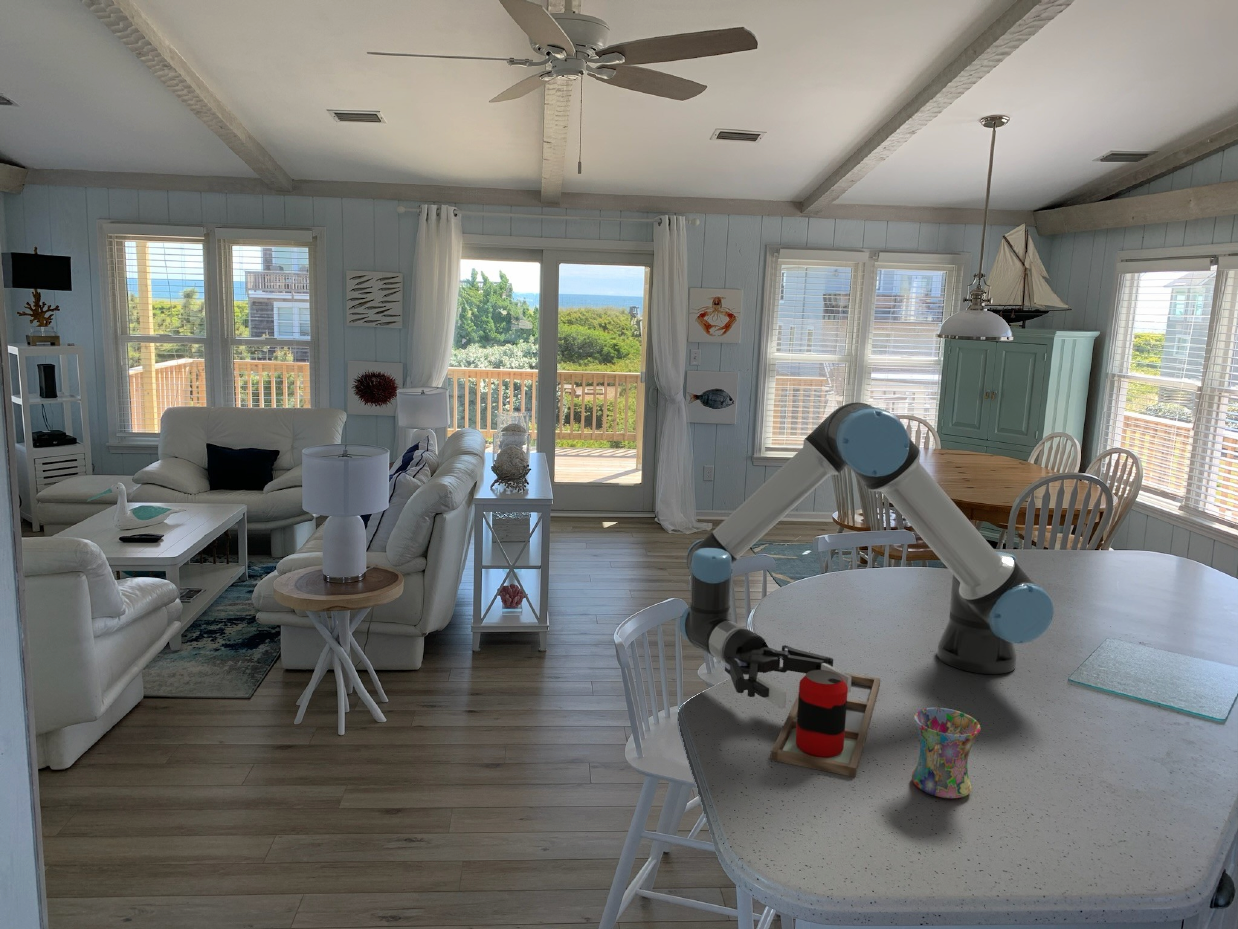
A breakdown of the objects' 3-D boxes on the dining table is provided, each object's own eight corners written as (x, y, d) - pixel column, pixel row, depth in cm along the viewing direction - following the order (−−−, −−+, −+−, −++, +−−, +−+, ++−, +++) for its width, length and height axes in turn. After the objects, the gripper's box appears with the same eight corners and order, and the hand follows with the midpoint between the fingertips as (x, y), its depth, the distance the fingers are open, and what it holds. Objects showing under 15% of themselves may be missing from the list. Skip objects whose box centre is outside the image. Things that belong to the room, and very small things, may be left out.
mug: (916, 765, 138) (921, 702, 136) (979, 782, 133) (985, 717, 131) (897, 800, 128) (902, 732, 126) (964, 820, 123) (971, 749, 121)
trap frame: (879, 686, 168) (880, 678, 168) (855, 777, 134) (855, 768, 134) (811, 674, 173) (811, 667, 172) (770, 759, 139) (771, 751, 138)
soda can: (824, 763, 137) (829, 690, 135) (786, 745, 143) (790, 675, 141) (852, 748, 142) (857, 678, 140) (814, 731, 148) (818, 664, 146)
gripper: (791, 656, 166) (873, 700, 148) (680, 679, 155) (754, 730, 136) (793, 618, 165) (876, 657, 147) (681, 639, 153) (756, 684, 135)
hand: (817, 692), depth 141 cm, fingers open, 13 cm apart
